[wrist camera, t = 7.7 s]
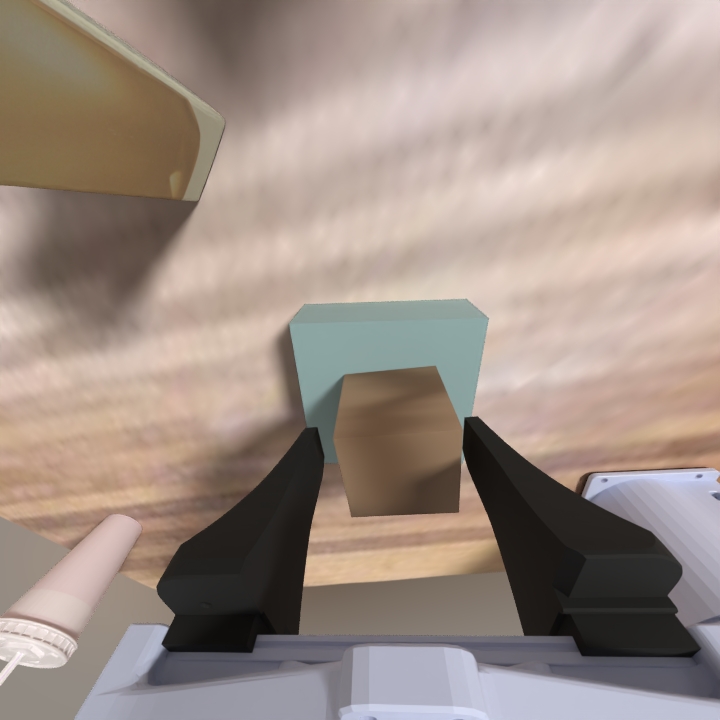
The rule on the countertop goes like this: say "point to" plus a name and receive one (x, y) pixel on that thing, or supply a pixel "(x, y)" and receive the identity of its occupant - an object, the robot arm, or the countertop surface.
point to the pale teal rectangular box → (384, 351)
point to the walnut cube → (398, 443)
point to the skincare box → (95, 110)
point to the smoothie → (65, 598)
